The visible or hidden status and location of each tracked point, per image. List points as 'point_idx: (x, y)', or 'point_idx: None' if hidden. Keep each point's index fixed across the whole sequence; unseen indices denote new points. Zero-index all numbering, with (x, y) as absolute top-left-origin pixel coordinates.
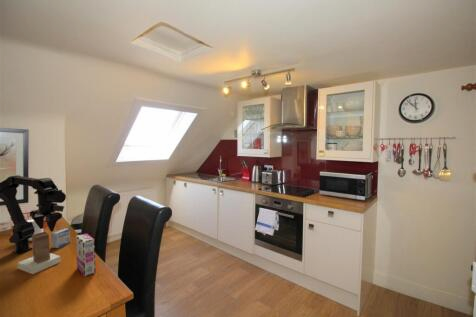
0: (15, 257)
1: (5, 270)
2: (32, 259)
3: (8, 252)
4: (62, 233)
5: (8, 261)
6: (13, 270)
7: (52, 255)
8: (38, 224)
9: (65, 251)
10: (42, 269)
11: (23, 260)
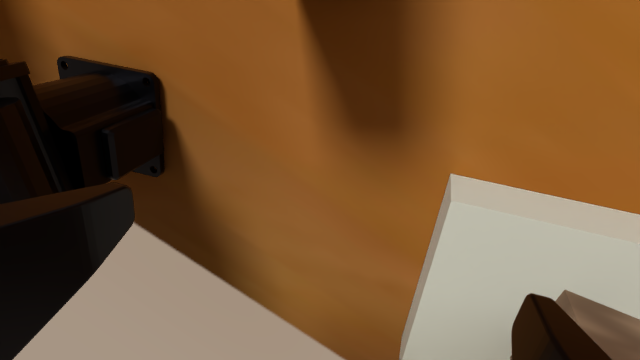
0: (203, 215)
1: (344, 355)
2: (472, 337)
3: None
4: None
5: (227, 266)
6: (397, 356)
7: (624, 264)
8: (34, 329)
9: (563, 11)
10: None
11: (409, 352)
